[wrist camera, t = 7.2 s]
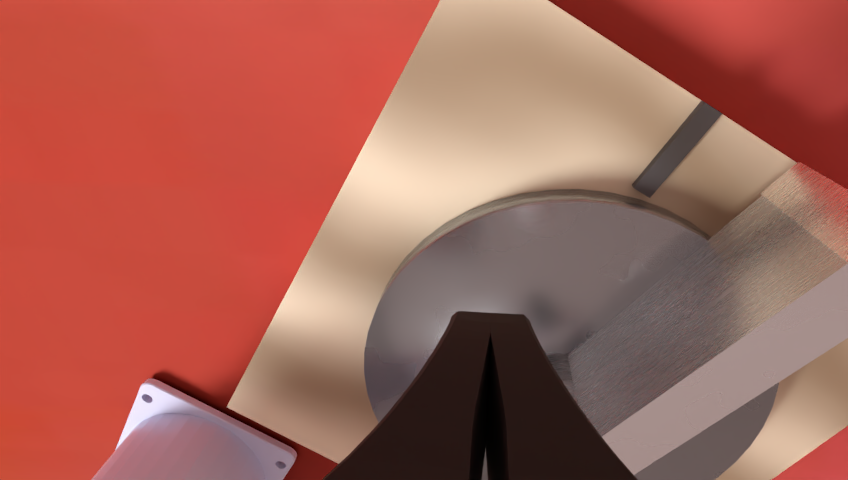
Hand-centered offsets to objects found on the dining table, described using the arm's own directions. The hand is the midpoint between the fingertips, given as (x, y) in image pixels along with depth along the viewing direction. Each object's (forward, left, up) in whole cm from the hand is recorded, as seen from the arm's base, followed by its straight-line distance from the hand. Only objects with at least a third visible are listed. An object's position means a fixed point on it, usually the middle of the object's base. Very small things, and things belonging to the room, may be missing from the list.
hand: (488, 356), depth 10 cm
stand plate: (-4, -6, -10) cm, 12 cm away
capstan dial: (-3, -6, -8) cm, 10 cm away
